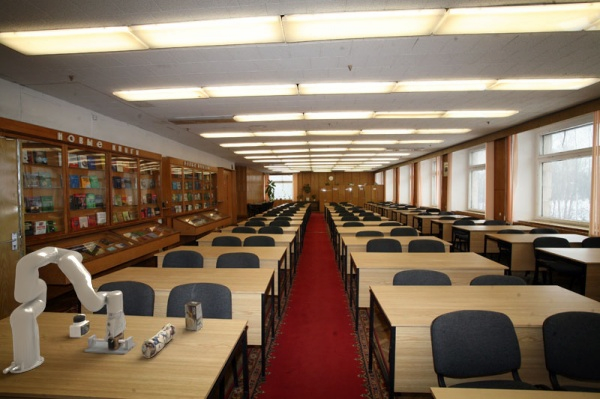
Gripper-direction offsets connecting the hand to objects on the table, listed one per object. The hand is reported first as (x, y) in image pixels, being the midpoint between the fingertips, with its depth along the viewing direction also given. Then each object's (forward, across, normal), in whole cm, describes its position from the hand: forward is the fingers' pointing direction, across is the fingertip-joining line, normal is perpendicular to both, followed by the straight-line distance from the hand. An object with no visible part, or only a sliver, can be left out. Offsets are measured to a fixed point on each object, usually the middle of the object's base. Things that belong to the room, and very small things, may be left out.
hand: (116, 344), depth 159 cm
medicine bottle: (+3, +13, +34) cm, 37 cm away
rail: (+2, 0, +3) cm, 4 cm away
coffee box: (+3, +27, -33) cm, 42 cm away
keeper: (+1, 0, 0) cm, 1 cm away
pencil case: (+3, +4, -24) cm, 24 cm away
